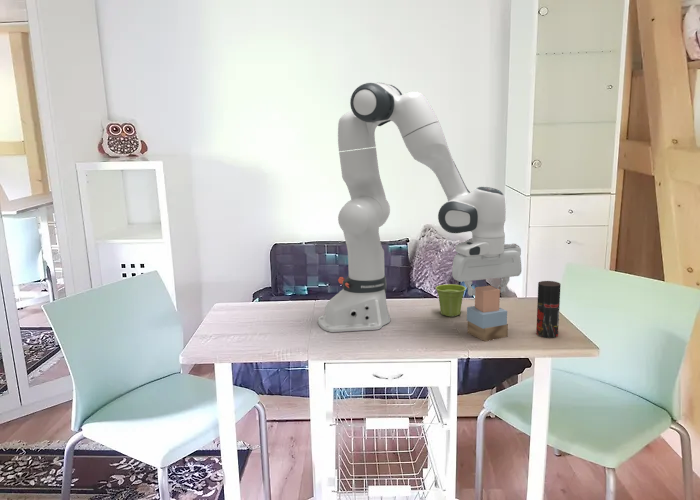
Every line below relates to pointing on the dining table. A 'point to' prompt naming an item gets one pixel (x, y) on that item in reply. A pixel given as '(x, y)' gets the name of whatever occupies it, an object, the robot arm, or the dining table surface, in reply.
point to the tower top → (486, 317)
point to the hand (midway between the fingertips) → (486, 293)
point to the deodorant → (548, 309)
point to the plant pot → (450, 298)
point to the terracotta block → (487, 298)
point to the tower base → (487, 331)
